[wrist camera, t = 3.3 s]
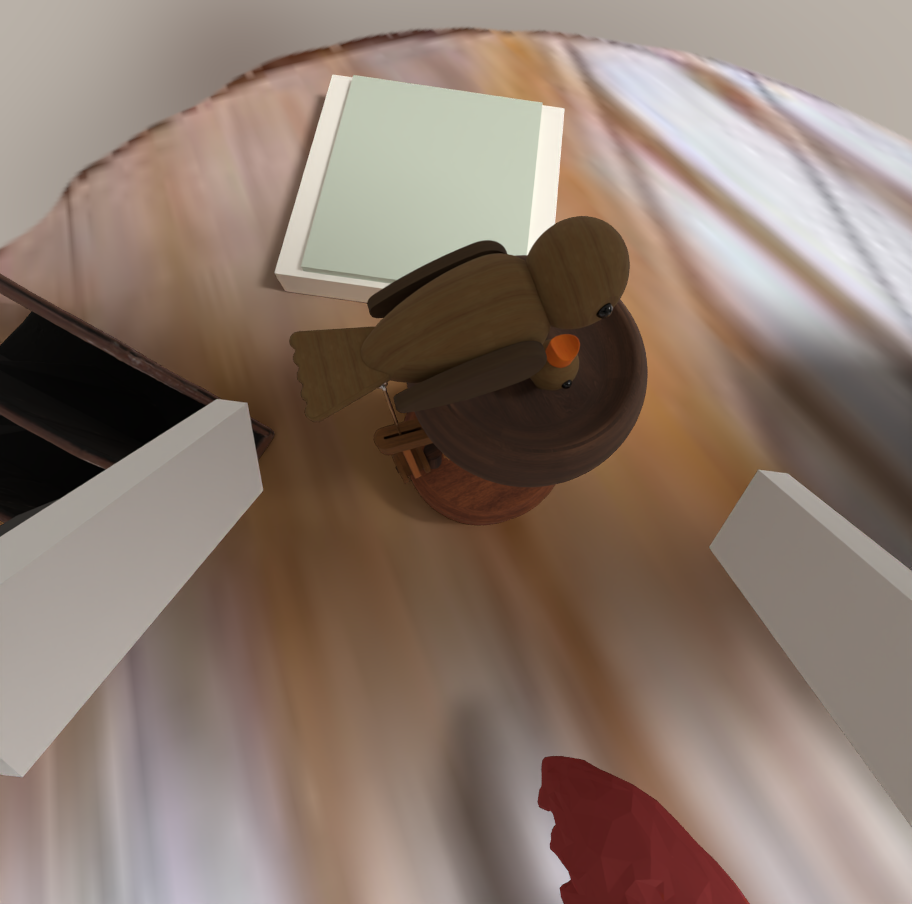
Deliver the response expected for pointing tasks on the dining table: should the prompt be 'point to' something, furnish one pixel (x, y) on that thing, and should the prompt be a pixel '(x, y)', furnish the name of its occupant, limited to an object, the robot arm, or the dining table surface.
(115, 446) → the letter holder
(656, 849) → the red winged figure
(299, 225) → the display stand
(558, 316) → the music box
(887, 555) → the robot arm
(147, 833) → the dining table surface
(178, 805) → the dining table surface
